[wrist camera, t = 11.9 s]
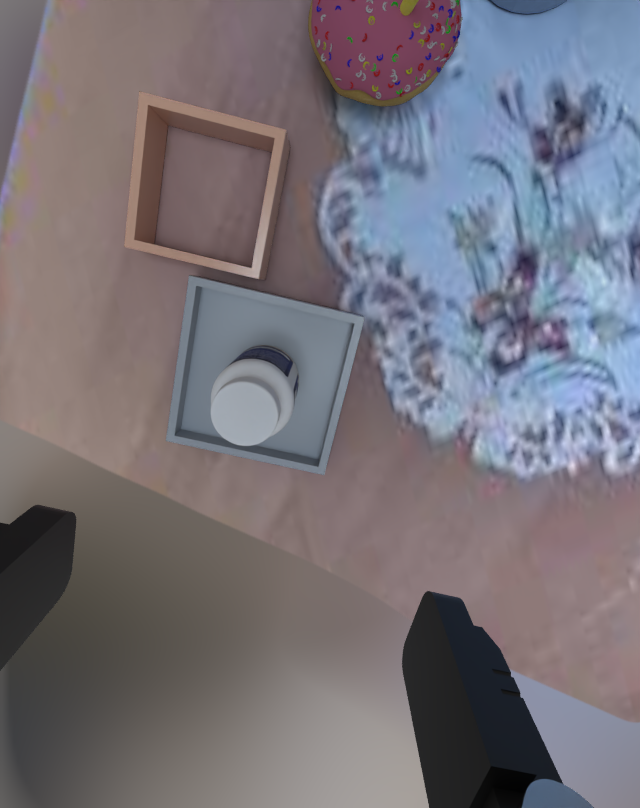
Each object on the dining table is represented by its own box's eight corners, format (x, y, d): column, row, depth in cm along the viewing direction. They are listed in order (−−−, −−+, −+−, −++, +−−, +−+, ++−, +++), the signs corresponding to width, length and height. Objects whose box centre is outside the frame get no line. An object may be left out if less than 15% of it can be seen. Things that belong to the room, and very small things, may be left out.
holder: (160, 113, 29) (139, 91, 26) (290, 147, 30) (285, 129, 26) (145, 250, 32) (124, 246, 28) (265, 279, 32) (258, 279, 29)
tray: (197, 275, 32) (189, 275, 30) (362, 315, 33) (364, 317, 31) (174, 431, 36) (165, 440, 33) (324, 464, 36) (324, 475, 34)
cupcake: (464, 45, 28) (565, -123, 16) (382, 159, 30) (420, 80, 18) (364, -54, 26) (397, -314, 15) (285, 72, 28) (259, -73, 17)
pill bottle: (220, 360, 33) (180, 390, 24) (281, 333, 33) (265, 353, 23) (250, 419, 35) (223, 470, 25) (310, 394, 34) (305, 437, 25)
